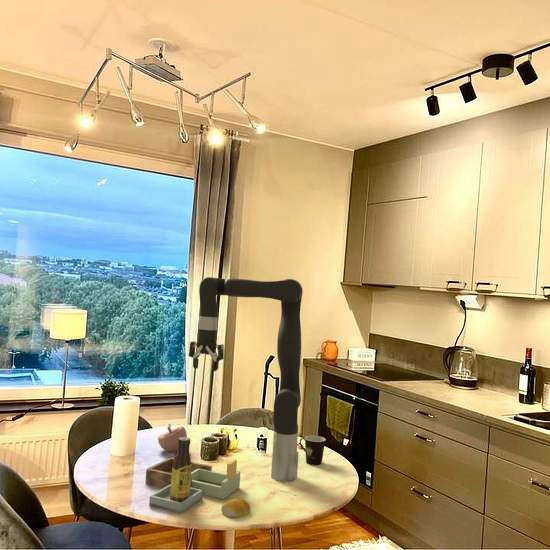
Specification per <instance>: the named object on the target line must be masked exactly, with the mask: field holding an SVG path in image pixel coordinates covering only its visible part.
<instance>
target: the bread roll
mask: <svg viewBox="0 0 550 550" xmlns="http://www.w3.org/2000/svg"><path fill="white" fill-rule="evenodd" d="M220 510H221V513H222V514H223V515H225V516H226V517H229V518H234V519H235V518H243V517H244V516H246V515H248V514H249V513H250V511H251V505H250V503H249V502H248V501H247V500H246V499H244V498H240V497H239V498H232V499H230V500H228V501H226V502H224V503H223V504H222V506H221V509H220Z"/></svg>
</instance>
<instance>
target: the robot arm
mask: <svg viewBox="0 0 550 550" xmlns="http://www.w3.org/2000/svg"><path fill="white" fill-rule="evenodd" d="M198 292H199V293H198V294H199V295H198V296H199V303H200V304H199V305H200V306H199V317H198V318H199V319H198V324H197V342H196V341H190V343H189V350H188V351H189V352H188V357H190V358H192V367H193V369H195V370H196V369H199V361H200V359H199V358H200V356H201V355H208V356H210V357H211V358H212V360H213V363H212V371H213V372H216V371H218V370H219V364H220V363H219V362H220V361H223V360H224V358H225V357H224V355H225V354H224V352H225V351H224V350H225V347H224V346H225V345H224V343H221V344H218V343H217V341H218V327H219V325H218V324H219V323H218V322H219V319H218V314H219V304H218V302H217V296H228V297H231V298H232V297H234V298H265V299H272V300H277V301H280V303H281V304H280V307H281V309H280V310H281V313H280V315H281V316H280V322H279V326H278V327H279V328H278V331H277V332H278V333H277V343H276V344H277V345H276V350H277V351H276V352H277V353H276V354H277V360H278V361H277V362H278V367H279V372H280V373H279V374H280V382H279V390H278V391H279V392H278V393H277V394H276V395H275V398H274V401H273V414H272V416H273V417H272V419H273V420H272V423H273V439H272V453H271V455H272V456H271V470H270V471H271V472H270V473H271V474H270V477H271V478H272V480H273V479H274V480H276V481H278V482H293V481H294V480H295V479H296V478H297V477H298V468H299V451H298V439H299V438H298V437H299V424H298V414H299V408H300V406H301V402H302V396H301V387H300V386H301V384H300V370H301V361H302V360H301V359H302V357H301V356H302V327H301V324H302V323H301V305H302V299H303V298H302V297H303V293H304V291H303V286H302V284H301V283H300V282H299V281H298V280H296V279H294V278H293V279H292V278H287V279H283V280H273V281H268V280H267V281H262V280H254V279H244V278H221V277H211V276H207V277H204V278H203V279H202V280H200V284H199V287H198ZM196 347H197V350H196ZM216 349H217V351H216Z"/></svg>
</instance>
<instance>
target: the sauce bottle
mask: <svg viewBox="0 0 550 550" xmlns="http://www.w3.org/2000/svg"><path fill="white" fill-rule="evenodd" d="M191 440H192V439H191V437H188V436H187V437H180V438H178V451H177V453H176V454H175V456H174V457H173V458H174V460H173V467H172V472H171V473H172V478H171V489H170V500H172V501H176V502H180V503H181V502H183V501H184V500H186V499H187V498H189V493H190V480H191V468H192V463H191V462H192V460H191V459H192V458H191V454H190V445H191Z"/></svg>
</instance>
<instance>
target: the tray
mask: <svg viewBox="0 0 550 550" xmlns="http://www.w3.org/2000/svg"><path fill="white" fill-rule="evenodd" d="M170 489H171V484H170V485H168V486H166V487H165V488H163V487H162V488H161V489H159V490H158V491H156V492H154V493H152V494H151V495H149V500H148V501H149V502H148V503H149V504H148V506H150V507H153V508H157V509H160V508H161V509H160V510H165V511H168V510H169V512H173V513H178V514H180V515H182V514H184V513H185V512H186V511H188V510H189V509H190V508H192V507H194V506H195V505H196V504H198V503H199V502H200V501H201V500H202V501H203V495H204V494H203V490H200V489H196V488H191V487H190V493H189V498H187V499H186V500H184V501H183V502H181V503H180V502H176V501H172V500H170Z"/></svg>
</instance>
